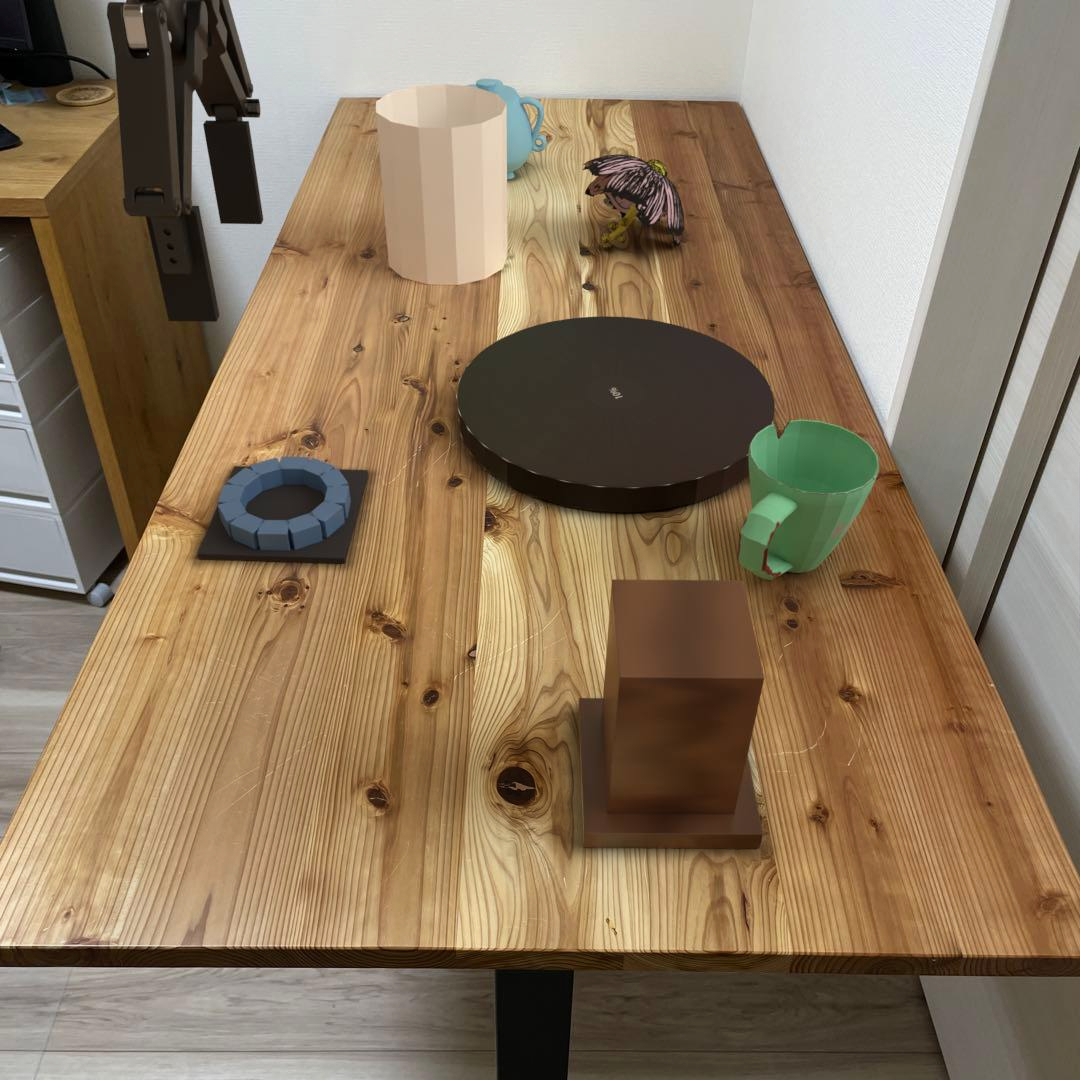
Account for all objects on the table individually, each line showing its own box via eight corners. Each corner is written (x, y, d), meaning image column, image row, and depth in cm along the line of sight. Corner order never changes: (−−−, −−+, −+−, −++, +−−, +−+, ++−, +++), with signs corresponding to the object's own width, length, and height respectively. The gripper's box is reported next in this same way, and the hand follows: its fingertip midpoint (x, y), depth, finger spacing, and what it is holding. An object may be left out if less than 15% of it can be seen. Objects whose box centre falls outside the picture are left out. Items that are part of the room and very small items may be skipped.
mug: (765, 501, 93) (783, 405, 87) (871, 544, 89) (899, 446, 83) (682, 595, 84) (695, 494, 78) (797, 647, 80) (821, 546, 74)
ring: (209, 550, 87) (205, 533, 86) (237, 472, 95) (234, 456, 94) (340, 551, 87) (337, 534, 86) (357, 473, 95) (355, 456, 94)
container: (413, 294, 122) (402, 135, 110) (370, 245, 132) (355, 94, 120) (527, 270, 127) (527, 115, 116) (477, 224, 137) (473, 77, 125)
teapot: (541, 196, 144) (542, 106, 136) (419, 191, 145) (413, 101, 137) (551, 142, 159) (552, 59, 152) (440, 138, 160) (436, 55, 152)
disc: (407, 383, 107) (405, 357, 106) (655, 315, 119) (657, 290, 117) (556, 556, 88) (557, 528, 86) (836, 454, 99) (842, 427, 97)
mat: (345, 563, 87) (344, 558, 86) (198, 559, 87) (196, 553, 86) (368, 475, 96) (367, 469, 95) (235, 471, 96) (234, 465, 96)
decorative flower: (724, 181, 123) (603, 144, 120) (692, 279, 128) (573, 246, 124) (692, 169, 137) (581, 135, 133) (663, 259, 141) (555, 228, 137)
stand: (583, 847, 67) (593, 697, 58) (578, 711, 75) (586, 562, 66) (759, 848, 67) (796, 699, 58) (734, 713, 75) (764, 563, 66)
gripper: (157, -87, 43) (240, 370, 57) (269, -165, 63) (311, 190, 76) (-30, -91, 43) (97, 368, 57) (140, -168, 62) (205, 188, 76)
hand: (220, 266), depth 66 cm, fingers open, 13 cm apart
